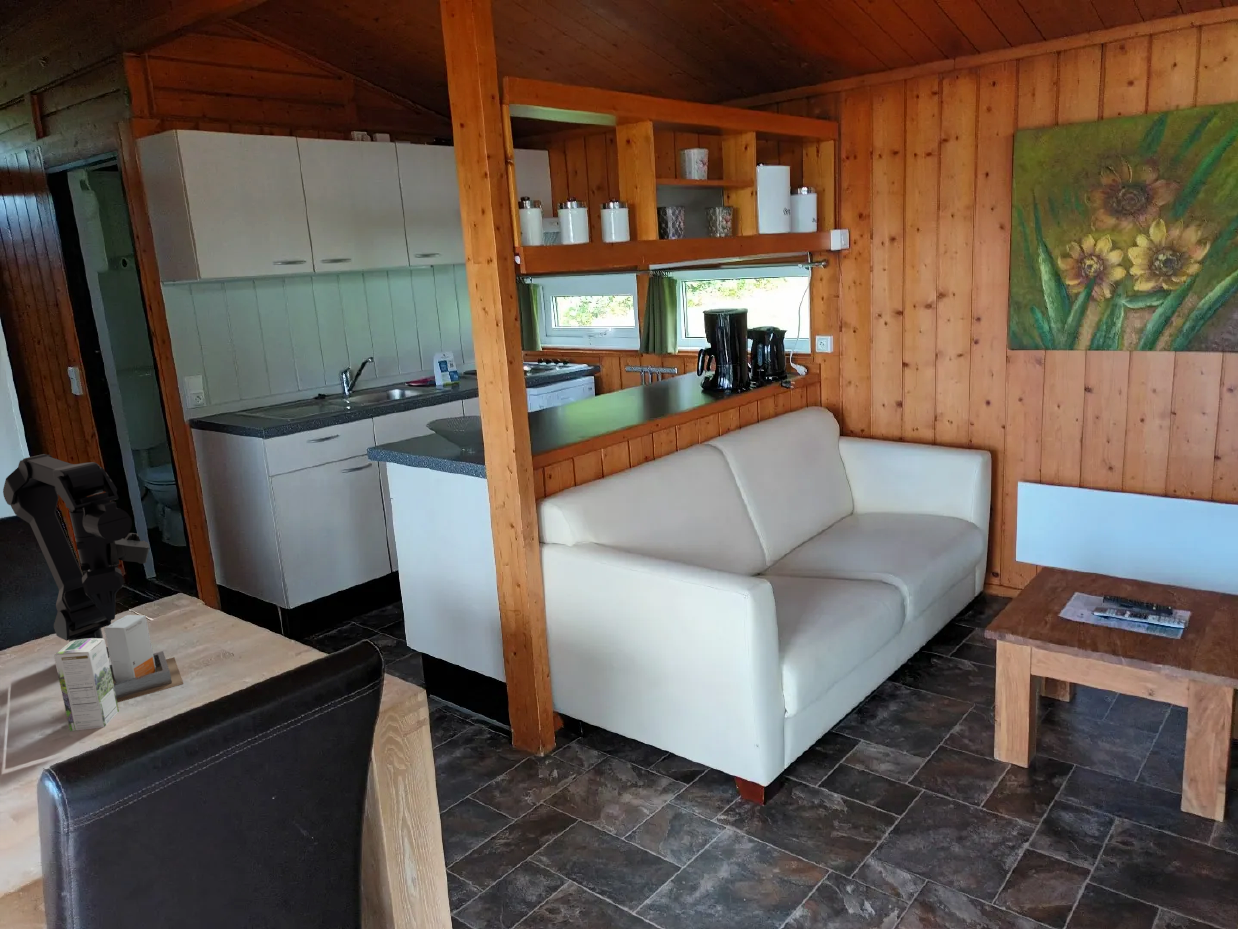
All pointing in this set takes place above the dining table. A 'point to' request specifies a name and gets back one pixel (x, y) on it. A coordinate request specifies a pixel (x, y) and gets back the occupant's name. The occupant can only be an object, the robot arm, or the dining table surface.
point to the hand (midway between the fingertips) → (109, 612)
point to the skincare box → (130, 648)
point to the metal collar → (144, 679)
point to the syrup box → (86, 683)
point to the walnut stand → (175, 680)
